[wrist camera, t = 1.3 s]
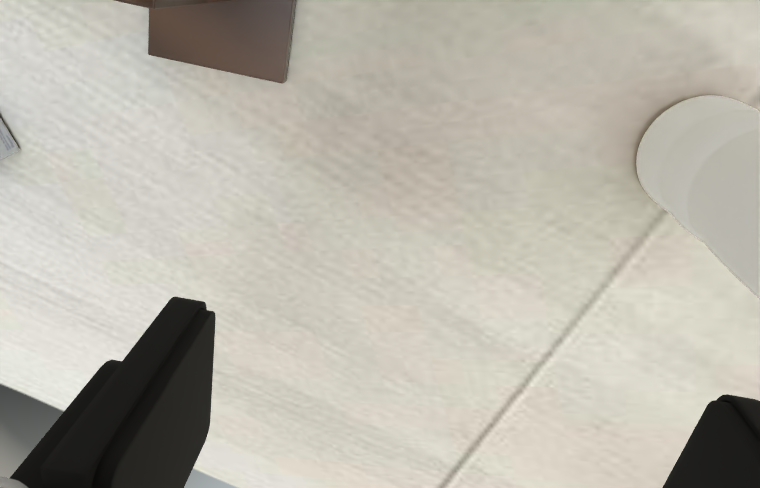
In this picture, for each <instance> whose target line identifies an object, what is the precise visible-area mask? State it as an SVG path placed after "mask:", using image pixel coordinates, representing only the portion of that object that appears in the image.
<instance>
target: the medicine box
mask: <svg viewBox="0 0 760 488" xmlns="http://www.w3.org/2000/svg"><path fill="white" fill-rule="evenodd" d="M17 151H19V148H18V146H17V144H16V143H15V141H14V139H13V138H12V136H11V134H10V133H9V131H8V129H7V128H6V126H5V125H4V123H3V121H2V120H1V118H0V160H1V159H3V158H5V157H8V156H10V155H12V154H14V153H16V152H17Z"/></svg>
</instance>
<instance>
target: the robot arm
mask: <svg viewBox="0 0 760 488" xmlns="http://www.w3.org/2000/svg"><path fill="white" fill-rule="evenodd" d="M214 335H215V313H214V312H213V311H208V310H206V303H205V302H202V301H196V300H191V299H185V298H180V297H173V298H171V299H170V301H169V302H168V303H167V304H166V306H165V307H164V308H163V310H162V311H161V312H160V313H159V315H158V316H157V317H156V319H155V320H154V321H153V322H152V324H151V325H150V326H149V328H148V329H147V330H146V331H145V333H144V334H143V335H142V337H141V338H140V339H139V341H138V342H137V343H136V344H135V346H134V347H133V348H132V350H131V351H130V352H129V353H128V355H127V356H126V357H125V359H124V360H123V361H116V360H110V361H107V362H106V363H105V364H104V365H103V366H102V367H100V369H99V370H98V371H97V372H96V374H95V375H94V376H93V377H92V378H91V380H90V381H89V382H88V383H87V385H86V386H85V387H84V388H83V389H82V391H81V392H80V393H79V394H78V396H77V397H76V398H75V399H74V400H73V402H72V403H71V404H70V405H69V407H68V408H67V409H66V410H65V411H64V413H63V414H62V415H61V416H60V417H59V419H58V420H57V421H56V422H55V424H54V425H53V426H52V427H51V428H50V430H49V431H48V432H47V433H46V435H45V436H44V437H43V438H42V439H41V441H40V442H39V443H38V444H37V446H36V447H35V448H34V449H33V450H32V452H31V453H30V454H29V455H28V457H27V458H26V459H25V460H24V462H23V463H22V464H21V465H20V466H19V468H18V469H17V470H16V471H15V472H14V474H13V475H12V476H11V477H10V478H6V477H0V488H184V486H185V484H186V481H187V479H188V477H189V475H190V473H191V470H192V469H193V466H194V464H195V462H196V460H197V458H198V456H199V453H200V451H201V449H202V447H203V445H204V443H205V440H206V437H207V434H208V430H209V425H210V413H211V394H212V374H213V354H214ZM663 488H760V401H758V400H755V399H749V398H744V397H738V396H733V395H722V396H721V397H719V398H718V399H717V400H716V401H712V402H710V403H709V404H708V405H707V407H706V409H705V411H704V413H703V414H702V416H701V418H700V420H699V422H698V424H697V425H696V427H695V429H694V431H693V433H692V435H691V436H690V438H689V440H688V442H687V444H686V446H685V448H684V449H683V451H682V453H681V455H680V457H679V459H678V460H677V462H676V464H675V466H674V468H673V470H672V471H671V473H670V475H669V477H668V479H667V481H666V482H665V484H664V486H663Z"/></svg>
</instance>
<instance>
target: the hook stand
mask: <svg viewBox="0 0 760 488" xmlns="http://www.w3.org/2000/svg"><path fill="white" fill-rule="evenodd" d="M115 1H119V2H124V3H128V4H133V5H138V6H142V7H147V8H149V45H148V54H149V55H153V56H157V57H162V58H166V59H171V60H176V61H180V62H185V63H190V64H194V65H199V66H204V67H208V68H213V69H217V70H222V71H227V72H231V73H236V74H241V75H245V76H250V77H255V78H259V79H264V80H269V81H273V82H278V83H284V82H285V81H286V79H287V71H288V63H289V55H290V47H291V39H292V31H293V23H294V15H295V7H296V0H115Z"/></svg>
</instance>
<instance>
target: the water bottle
mask: <svg viewBox="0 0 760 488" xmlns="http://www.w3.org/2000/svg"><path fill="white" fill-rule="evenodd" d="M636 168H637V175H638V178H639V181H640V183H641V185H642V187H643V189H644V190H645V192H646V193H647V194H648V195H649V197H650V198H651V199H652V200H653V201H655V202H656V203H657V204H658V205H659V206H660V207H662V208H663V209H664V210H666V211H667V212H669V213H670V214H672V216H673V217H674V218H675V220H676V221H677V222H678V223H679V224H680V225H681V226H682V227H683V228H684V229H685V230H686V231H687V232H689V233H690V234H691V235H693V236H694V237H695V238H697V239H698V240H700V241H702V242H704V243H705V245H706V246H707V247H708V248H709V249H710V251H711V252H712V253H713V254H714V255H715V256H716V257H717V258H718V259H719V261H720V262H721V263H722V264H723V265H724V266H725V267H726V268H727V269H728V270H729V271H730V272H731V273H732V274H733V275H734V276H735V277H736V278H738V279H739V280H740V281H741V282H742V283H743V284H744V285H745V286H746V287H747V288H748V289H749V290H750V291H751V292H752V293H754V294H755V295H756V296H757V297H758V298H759V299H760V111H758V110H757V109H755V108H753V107H751V106H749V105H747V104H745V103H743V102H740V101H738V100H735V99H732V98H728V97H724V96H716V95H706V96H698V97H694V98H690V99H687V100H684V101H682V102H680V103H677V104H676V105H674V106H672V107H671V108H669V109H667V110H666V111H665V112H663V113H662V114H661V115H660V116H659V117H658V118H657V119H656V120H655V121H654V122H653V123H652V124H651V125H650V127H649V128H648V130H647V131H646V133H645V134H644V136H643V138H642V140H641V143H640V145H639V148H638V152H637V159H636Z"/></svg>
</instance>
